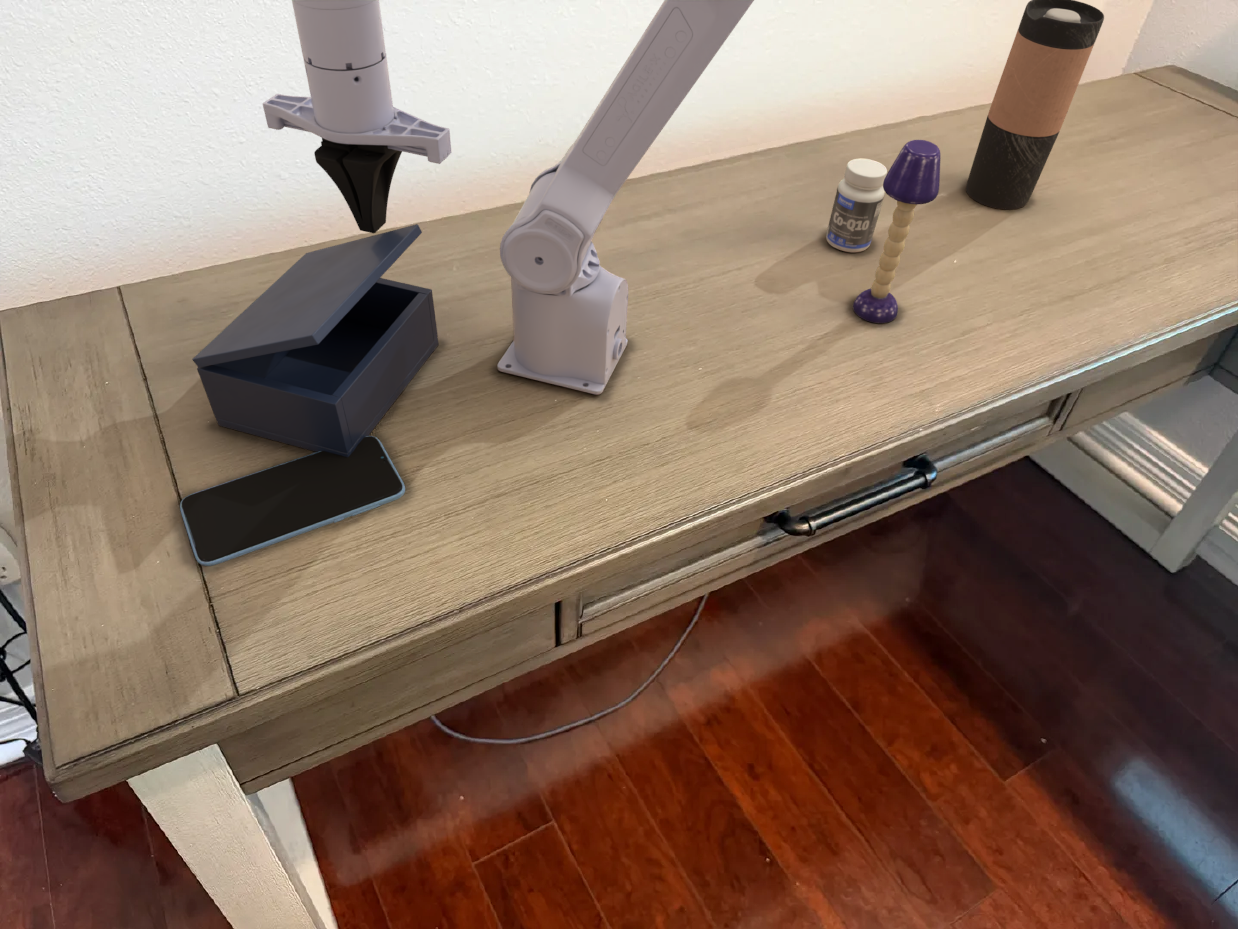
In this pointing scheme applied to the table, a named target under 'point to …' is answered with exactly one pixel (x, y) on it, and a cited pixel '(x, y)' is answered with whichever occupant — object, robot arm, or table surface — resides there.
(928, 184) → the toy lamp
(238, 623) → the table surface
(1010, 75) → the travel mug
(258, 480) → the smartphone
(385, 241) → the lid
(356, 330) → the box
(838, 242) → the pill bottle
